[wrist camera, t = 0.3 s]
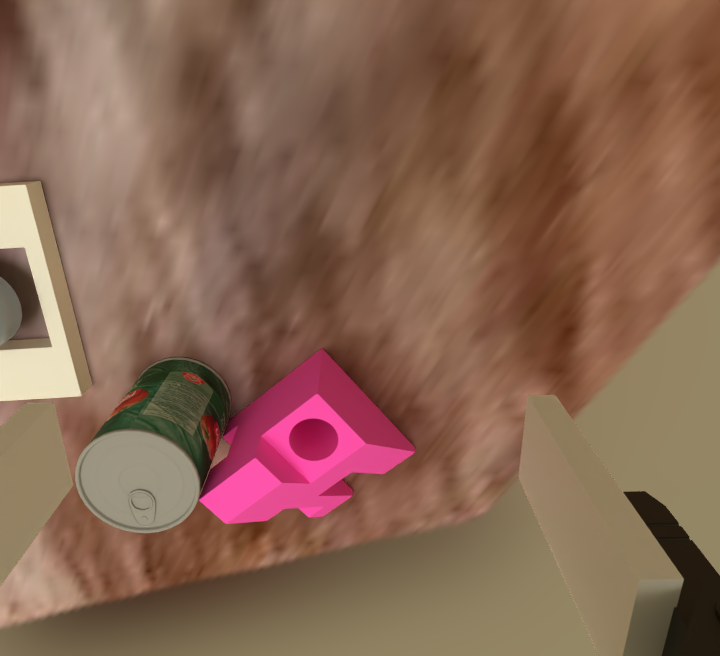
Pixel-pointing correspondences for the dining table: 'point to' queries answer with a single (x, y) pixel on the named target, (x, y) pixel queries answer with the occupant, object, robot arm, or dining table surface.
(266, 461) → the bracket
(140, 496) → the canned tomato
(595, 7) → the dining table surface
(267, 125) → the dining table surface
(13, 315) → the slate-blue button
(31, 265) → the panel
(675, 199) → the dining table surface
